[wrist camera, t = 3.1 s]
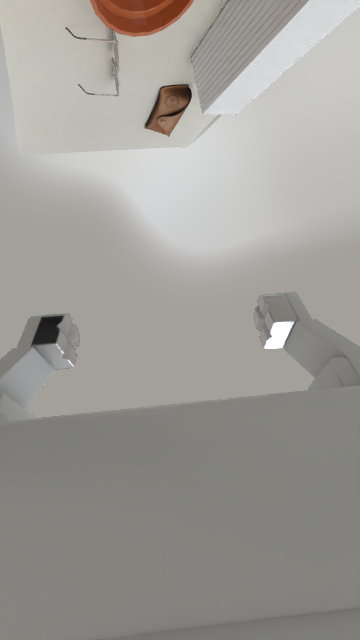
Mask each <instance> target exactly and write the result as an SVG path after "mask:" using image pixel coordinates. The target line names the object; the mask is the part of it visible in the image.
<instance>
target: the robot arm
mask: <svg viewBox="0 0 360 640" xmlns="http://www.w3.org/2000/svg"><path fill="white" fill-rule="evenodd" d="M257 303H258V305H259V306H257V307H256V308H255V311H254V321H255V325H256V329H258V330H259V331H260V332H261V333H260V336H259V337H260V340H261V342H262V345H263V348H264V349H271V348H283V349H284V350H285V351H286V352H287V353H288V354H290V355H291V356H292V357H293V358H294V359H295V360H296V361H297V362H298V363H299V364H300V365H301V366H303V367H304V368H305V369H306V370H307V371H308V372H309V373H310V374H311V375H312V376H313V377H315V380H314V381H313V382H312V383H311V385H310V386H309V387H308V390H306V391H297V392H287V393H277V394H267V395H258V396H248V397H238V398H228V399H218V400H208V401H198V402H189V403H179V404H169V405H160V406H150V407H140V408H131V409H120V410H112V411H101V412H92V413H81V414H73V415H63V416H52V417H43V418H35V416H34V414H33V413H31V412H30V411H28V410H27V409H26V407H27V406H28V404H29V403H30V402H31V401H32V400H33V398H34V397H35V396H36V395H37V393H38V392H39V390H40V389H41V388H42V387H43V386H44V384H45V383H46V382H47V381H48V379H49V378H50V377H51V376H52V374H53V373H54V372H55V370H60V369H68V368H74V367H75V363H76V357H77V353H76V352H75V350H76V349H77V347H78V346H79V343H80V333H79V330H78V327H77V326H76V325H74V324H73V323H72V318H71V316H70V314H67V313H66V314H52V315H41V316H31V317H30V318H29V319H28V321H27V324H26V326H25V329H24V331H23V333H22V336H21V338H20V341H19V343H18V346H17V348H15V349H12V350H11V351H10V352H8V353H7V354H6V355H5V356H4V357H3V358H1V359H0V640H360V347H359V346H358V345H356V344H354V343H353V342H351V341H350V340H348V339H347V338H345V337H343V336H342V335H340V334H339V333H337V332H335V331H334V330H332V329H330V328H329V327H327V326H326V325H324V324H322V323H321V322H319V321H318V320H316V319H314V320H312V318H311V316H310V315H309V313H308V311H307V309H306V307H305V306H304V304H303V302H302V301H301V299H300V297H299V295H298V294H297V293H296V292H295V291H294V292H285V293H275V294H266V295H260V296H259V297H258V300H257Z"/></svg>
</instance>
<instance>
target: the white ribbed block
mask: <svg viewBox="0 0 360 640" xmlns="http://www.w3.org/2000/svg"><path fill="white" fill-rule="evenodd" d="M359 6H360V0H229V1H228V3H227V4H226V6H225V7H224V9H223V10H222V12H221V13H220V15H219V16H218V18H217V19H216V21H215V22H214V24H213V25H212V27H211V28H210V30H209V32H208V33H207V35H206V36H205V38H204V39H203V41H202V42H201V44H200V45H199V47H198V48H197V50H196V51H195V53H194V54H193V56H192V57H191V62H192V63H193V64H192V66H193V68H194V69H193V71H194V73H195V74H194V76H195V79H196V80H195V81H196V84H197V85H196V86H197V89H198V90H197V91H198V94H199V99H200V104H201V109H202V114H223V115H236V114H238V113H239V112H240V111H241V110H242V109H243V108H244V107H246V106H247V105H248V104H249V103H250V102H251V101H253V100H254V99H255V98H256V97H257V96H258V95H259V94H261V93H262V92H263V91H264V90H265V89H266V88H267V87H268V86H270V85H271V84H272V83H273V82H274V81H275V80H276V79H277V78H279V76H281V75H282V74H283V73H284V72H285V71H287V70H288V69H289V68H290V67H291V66H292V65H293V64H294V63H296V62H297V61H298V60H299V59H300V58H301V57H302V56H304V55H305V54H306V53H307V52H308V51H309V50H310V49H311V48H313V47H314V46H315V45H316V44H317V43H318V42H320V41H321V40H322V39H323V38H324V37H325V36H326V35H327V34H328V33H329V32H331V31H332V30H333V29H334V28H335V27H337V26H338V25H339V24H340V23H341V22H342V21H343V20H344V19H346V18H347V17H348V16H349V15H350V14H351V13H352V12H354V11H355V10H356V9H357V8H358V7H359Z"/></svg>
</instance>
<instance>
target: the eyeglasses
mask: <svg viewBox="0 0 360 640" xmlns="http://www.w3.org/2000/svg"><path fill="white" fill-rule="evenodd" d="M65 29H67V30H68V31H69V32H70V33H71V31H70V30H69V29H68V28H67V27H66V28H65ZM71 34H72V33H71ZM72 35H73V34H72ZM73 36H74V35H73ZM74 37H75V38H77V39H85V40H86V39H88V40H97V41H106V42H114V54H115V62H114V58H112V66H113V68H112V74H113V75H114V76H115V84H116V89H117V94H118V95H106V94H91V93H87V92H86V91H85V90H84V89H83V88H82V87H81V86H80V85H79V84H78V85H79V86H80V87H81V88H82V90H83V91H84V92H85V93H87V94H91V95H106V96H118V97H119V81H118V75H117V72H119V52H118V41H117V40H116V36H115V32H114V30H113V40H104V39H90V38H80V37H76V36H74ZM115 64H116V65H115ZM116 67H117V70H116Z"/></svg>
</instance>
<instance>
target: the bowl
mask: <svg viewBox="0 0 360 640" xmlns="http://www.w3.org/2000/svg"><path fill="white" fill-rule="evenodd" d="M193 1H194V0H90V2H91V4H92V7H93V9H94V11H95V13H96V15H97V16H98V17H99V18H100V19H101V20H102V22H103V23H104V24H105V25H106V26H107V27H109V28H110V29H112V30H114V31H116V32H117V33H119V34H123V35H128V36H133V37H136V36H146V35H151V34H153V33H156V32H159V31H161V30H164V29H165V28H167V27H168V26H170V25H171V24H172V23H174V22H175V21H177V20H178V19H179V18H180V17H181V16H182V15H183V14H184V13H185V12H186V10H187V9H188V8H189V7H190V6H191V4H192V3H193Z"/></svg>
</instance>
